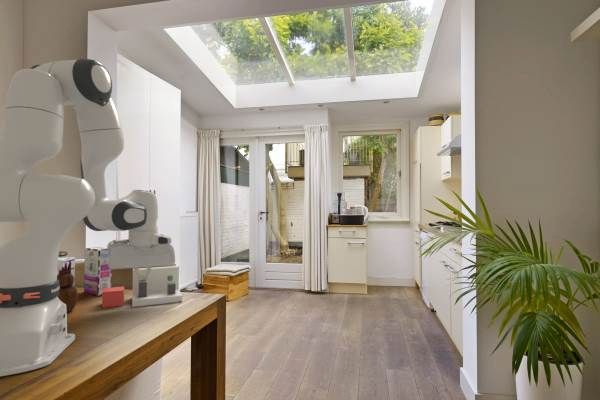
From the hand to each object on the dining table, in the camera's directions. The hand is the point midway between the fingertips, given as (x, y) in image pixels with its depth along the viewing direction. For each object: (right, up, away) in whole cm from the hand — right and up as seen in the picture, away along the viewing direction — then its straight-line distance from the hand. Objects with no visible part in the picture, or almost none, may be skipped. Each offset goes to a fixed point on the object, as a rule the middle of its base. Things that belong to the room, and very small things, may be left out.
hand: (142, 280), depth 114 cm
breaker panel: (+4, -7, +3) cm, 9 cm away
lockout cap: (-8, -7, -3) cm, 11 cm away
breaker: (0, -6, 0) cm, 6 cm away
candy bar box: (-22, -7, +12) cm, 26 cm away
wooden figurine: (-18, -7, -11) cm, 23 cm away
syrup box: (-27, -7, 0) cm, 28 cm away
